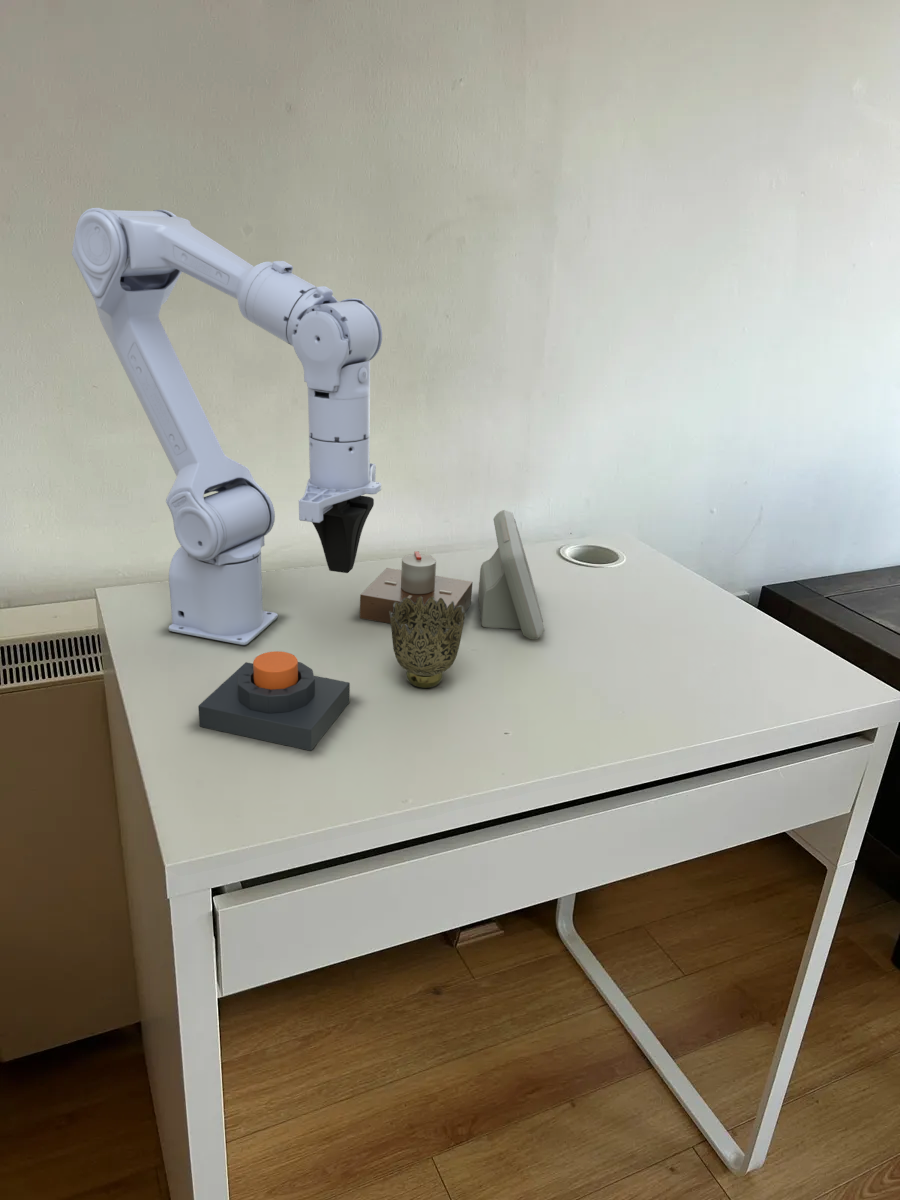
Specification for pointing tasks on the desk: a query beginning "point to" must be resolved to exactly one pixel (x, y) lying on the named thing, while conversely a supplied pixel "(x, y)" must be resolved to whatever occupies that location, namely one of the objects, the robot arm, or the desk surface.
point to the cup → (426, 638)
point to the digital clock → (509, 584)
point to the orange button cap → (275, 670)
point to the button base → (276, 708)
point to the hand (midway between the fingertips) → (340, 569)
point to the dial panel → (408, 594)
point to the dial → (418, 573)
